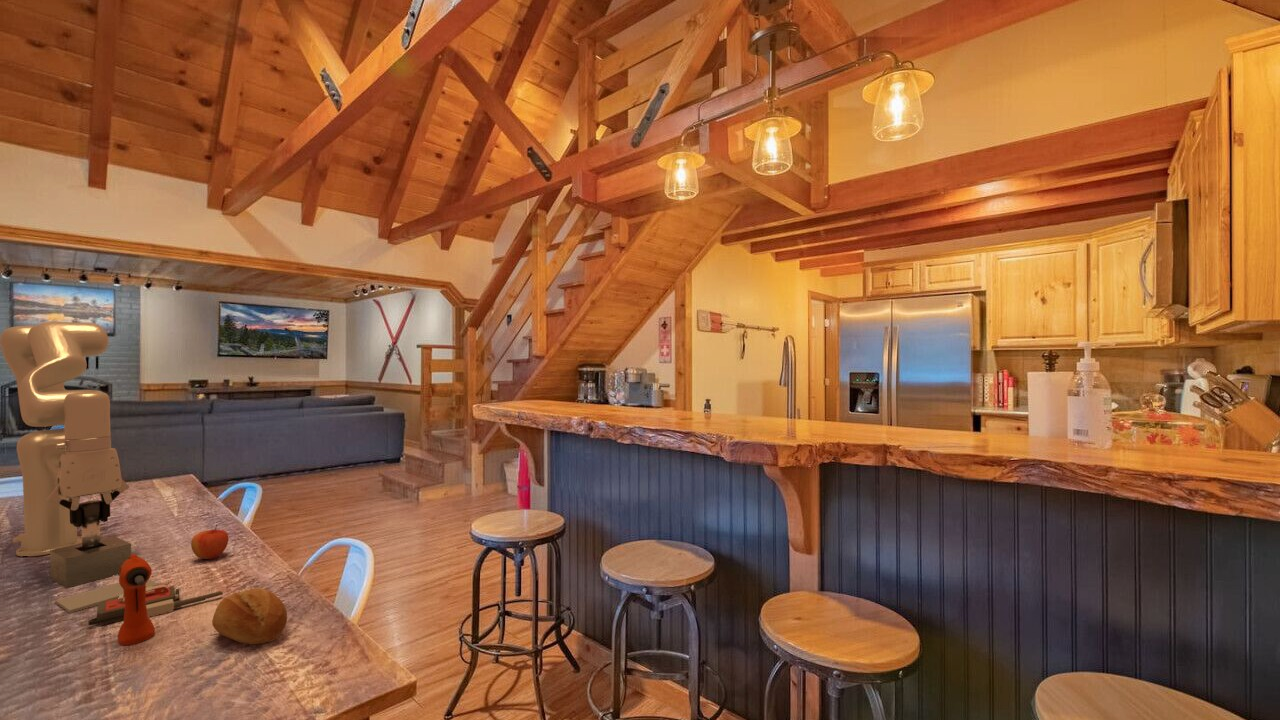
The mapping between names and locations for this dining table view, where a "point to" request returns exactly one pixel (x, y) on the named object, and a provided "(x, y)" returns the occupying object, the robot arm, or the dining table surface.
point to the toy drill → (135, 601)
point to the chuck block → (88, 561)
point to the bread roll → (250, 616)
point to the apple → (209, 543)
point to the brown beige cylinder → (91, 522)
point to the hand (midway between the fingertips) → (90, 522)
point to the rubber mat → (94, 597)
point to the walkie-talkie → (155, 604)
